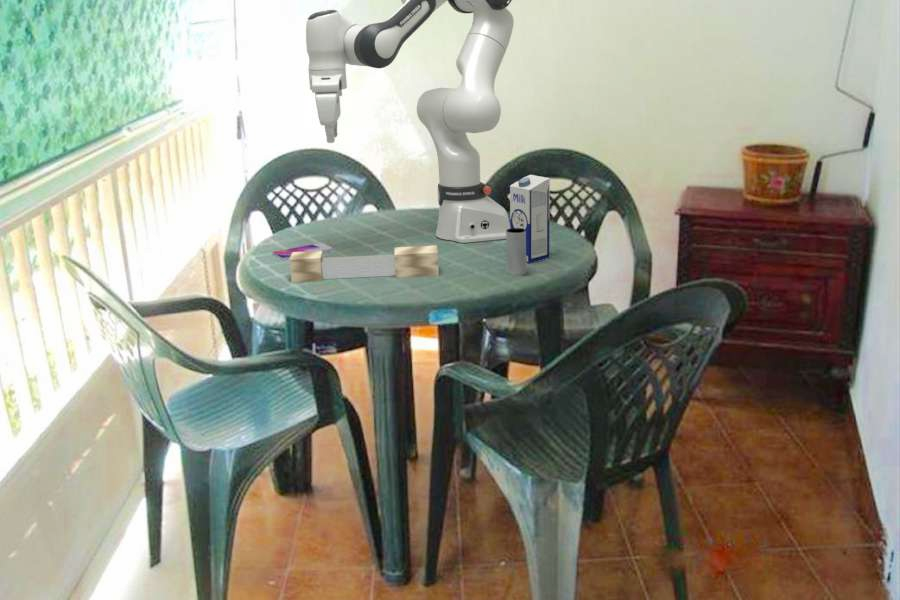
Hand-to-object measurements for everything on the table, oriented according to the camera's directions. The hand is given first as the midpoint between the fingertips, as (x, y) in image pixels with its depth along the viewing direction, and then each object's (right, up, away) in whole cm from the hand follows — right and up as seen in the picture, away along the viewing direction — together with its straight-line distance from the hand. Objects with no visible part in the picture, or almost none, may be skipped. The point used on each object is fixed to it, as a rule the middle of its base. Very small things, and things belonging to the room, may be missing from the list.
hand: (332, 139), depth 206 cm
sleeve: (+21, -33, -8) cm, 40 cm away
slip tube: (+7, -34, -9) cm, 35 cm away
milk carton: (+49, -29, 0) cm, 57 cm away
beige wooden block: (-4, -34, -10) cm, 36 cm away
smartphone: (-9, -27, +13) cm, 32 cm away
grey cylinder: (+44, -33, -11) cm, 57 cm away
